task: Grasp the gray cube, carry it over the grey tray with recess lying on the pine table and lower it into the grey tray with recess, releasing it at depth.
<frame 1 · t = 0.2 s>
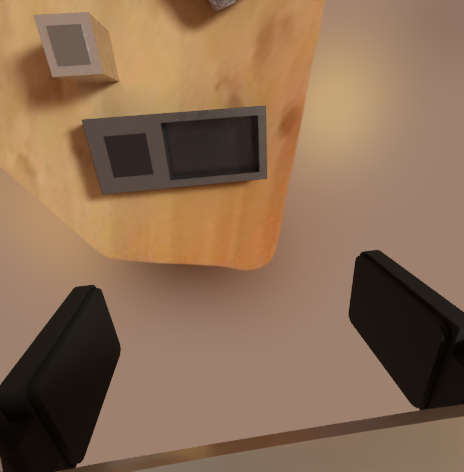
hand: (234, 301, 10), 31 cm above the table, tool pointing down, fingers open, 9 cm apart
grey tray with recess: (182, 149, 36), on the table
gray cube: (92, 58, 31), on the table
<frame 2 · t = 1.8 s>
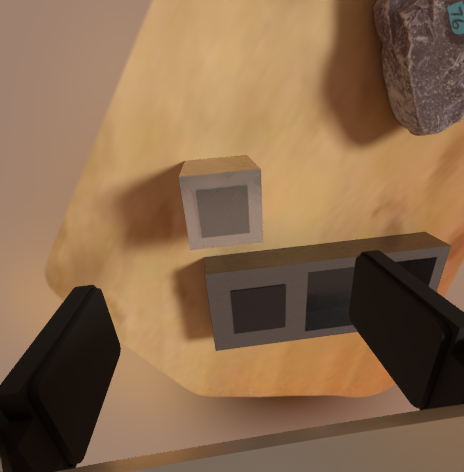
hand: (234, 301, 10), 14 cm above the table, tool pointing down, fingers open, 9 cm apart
rock: (421, 47, 20), on the table
grey tray with recess: (315, 282, 28), on the table
gray cube: (218, 187, 22), on the table
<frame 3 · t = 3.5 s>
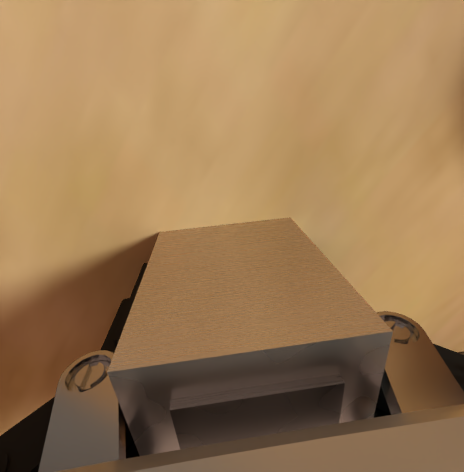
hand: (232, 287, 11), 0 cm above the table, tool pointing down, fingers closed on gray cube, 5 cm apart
gray cube: (231, 280, 11), on the table, touching gripper
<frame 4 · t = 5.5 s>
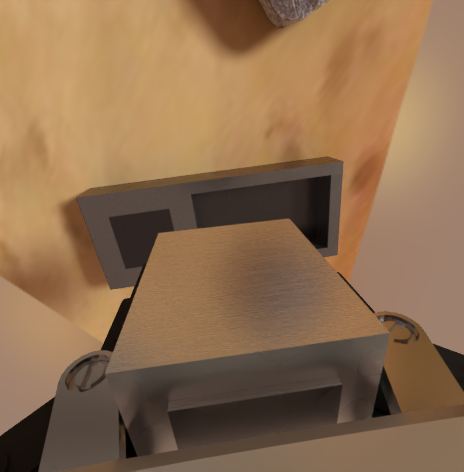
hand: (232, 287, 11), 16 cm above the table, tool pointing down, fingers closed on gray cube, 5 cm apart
grey tray with recess: (218, 217, 26), on the table
gray cube: (230, 280, 11), point 15 cm above the table, touching gripper
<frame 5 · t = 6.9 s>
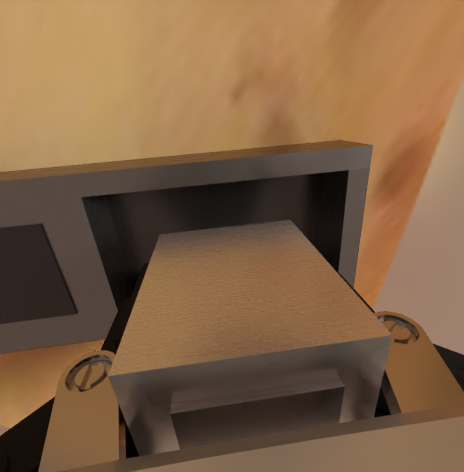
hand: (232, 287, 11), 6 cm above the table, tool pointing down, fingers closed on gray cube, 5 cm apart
grey tray with recess: (154, 237, 16), on the table
gray cube: (231, 281, 11), point 5 cm above the table, touching gripper
when the fingers open (3 cm above the table, at t = 7.8 s): gray cube drops 2 cm, resting on grey tray with recess.
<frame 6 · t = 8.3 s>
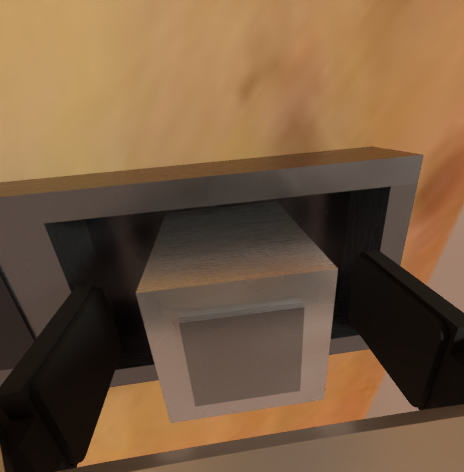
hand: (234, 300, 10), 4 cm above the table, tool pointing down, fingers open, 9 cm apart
grey tray with recess: (145, 263, 13), on the table
gray cube: (226, 255, 13), resting on grey tray with recess
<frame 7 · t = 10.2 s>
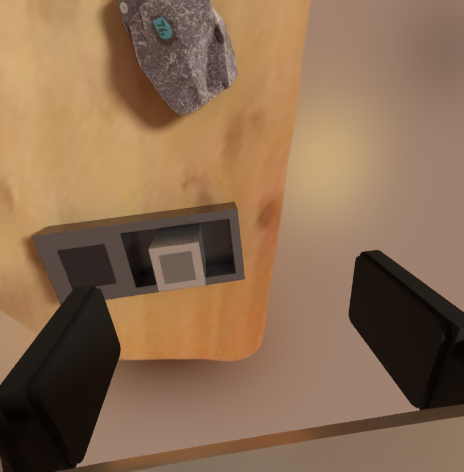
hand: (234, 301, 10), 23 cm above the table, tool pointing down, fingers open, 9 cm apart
rock: (183, 51, 26), on the table
grey tray with recess: (150, 248, 33), on the table
gray cube: (182, 244, 33), resting on grey tray with recess
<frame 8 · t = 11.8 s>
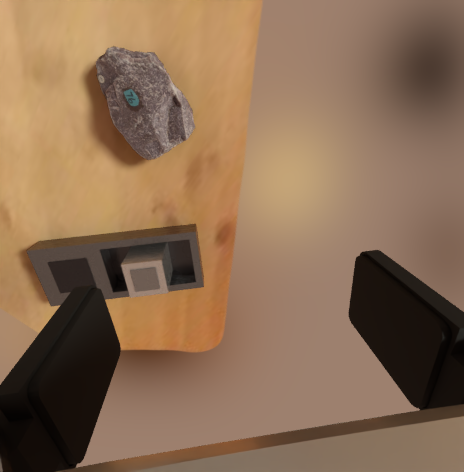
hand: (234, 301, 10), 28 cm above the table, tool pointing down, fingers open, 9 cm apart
rock: (152, 105, 32), on the table
grey tray with recess: (126, 259, 40), on the table
gray cube: (153, 257, 40), resting on grey tray with recess
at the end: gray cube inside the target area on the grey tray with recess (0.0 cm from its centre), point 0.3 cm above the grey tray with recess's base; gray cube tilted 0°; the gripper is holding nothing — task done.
